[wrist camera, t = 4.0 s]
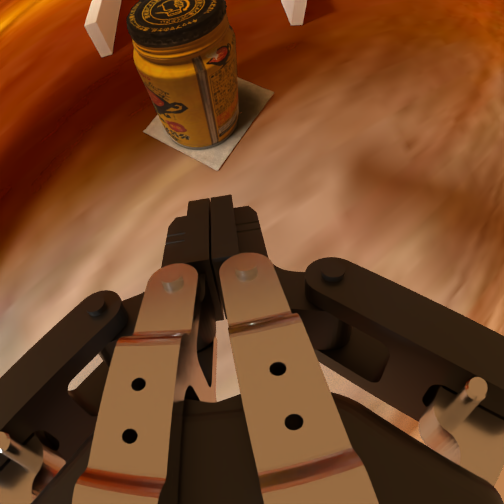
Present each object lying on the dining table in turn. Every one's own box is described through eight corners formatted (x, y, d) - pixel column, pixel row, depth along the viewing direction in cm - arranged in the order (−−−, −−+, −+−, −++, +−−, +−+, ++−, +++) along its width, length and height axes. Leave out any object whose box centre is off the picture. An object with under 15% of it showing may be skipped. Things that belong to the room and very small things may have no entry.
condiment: (143, 133, 24) (85, 32, 12) (202, 63, 25) (184, -44, 13) (217, 172, 23) (193, 65, 11) (274, 94, 24) (288, -21, 12)
